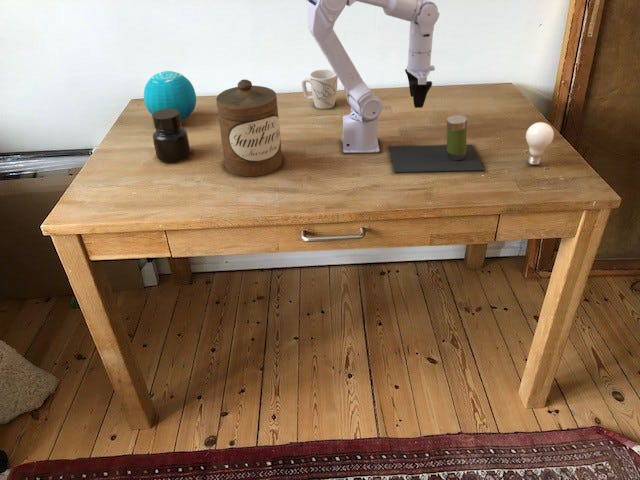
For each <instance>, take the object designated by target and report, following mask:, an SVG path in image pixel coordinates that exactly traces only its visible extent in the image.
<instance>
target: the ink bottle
mask: <svg viewBox="0 0 640 480" xmlns="http://www.w3.org/2000/svg"><path fill="white" fill-rule="evenodd" d="M151 118H152V122H153V126H154V130H155V131H154V132H153V133H152V141H153V147H154V151H155V154H156V158H157V159H158V160H159V161H160V162H163V163H166V164H167V163H168V164H171V163H172V164H173V163H178V162H182V161H184V160H187V158H189V157H190V156H191V154H192V153H191V145H190V140H189V135H188V131H187V130H186V128H184V127H183V126H182V122H181V119H180V114H179V111H178V110H175V109H163V110H159V111H156V112H155V113H153V115H152V114H151Z"/></svg>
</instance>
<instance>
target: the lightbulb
mask: <svg viewBox="0 0 640 480" xmlns="http://www.w3.org/2000/svg"><path fill="white" fill-rule="evenodd" d="M554 137H555V132H554V128H553V127H552V126H551V125H550V124H548V123H546V122H543V121H538V122H534V123H533V124H531V125H530V126H529V127H528V128H527V130H526V133H525V140H526V143H527V145H528V151H529V155H528V160H527V162H528V164H530V165H532V166H535V165H540V163H541V157H542V155H543V154H544V151H545V149H547V148H548V147H549V146H550V145H551V144H552V142H553V140H554Z"/></svg>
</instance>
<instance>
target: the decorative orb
mask: <svg viewBox="0 0 640 480" xmlns="http://www.w3.org/2000/svg"><path fill="white" fill-rule="evenodd" d="M143 101H144V105H145V107H146V109H147V111H148V112H149V114H150V115H151V116H152V115H153V113H155V112H156V111H159V110H163V109H175V110H178V111H179V114H180V119H181V123H182V122H184V121H185V120H187V119H188V118H190V116H191V115H192V114H193V112H194V110H195V108H196V105H197V95H196V91H195V88H194V85H193V83H192V82H191V81H190V80H189V78H187V77H186V76H184V75H183V74H181V73H179V72H177V71H172V70H163V71H160V72H157V73H155V74H153V75H152V76H151V77H150V79H148V80H147V82H146V84H145V86H144V90H143Z"/></svg>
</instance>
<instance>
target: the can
mask: <svg viewBox="0 0 640 480" xmlns="http://www.w3.org/2000/svg"><path fill="white" fill-rule="evenodd" d="M467 139H468V117H467V116H465V115H462V114H455V115H450V116H448V117H447V118H446V145H447V158H448V159H450V160H462V159H464V158H465V157H466V146H467V145H468V143H467V142H468V141H467Z"/></svg>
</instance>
